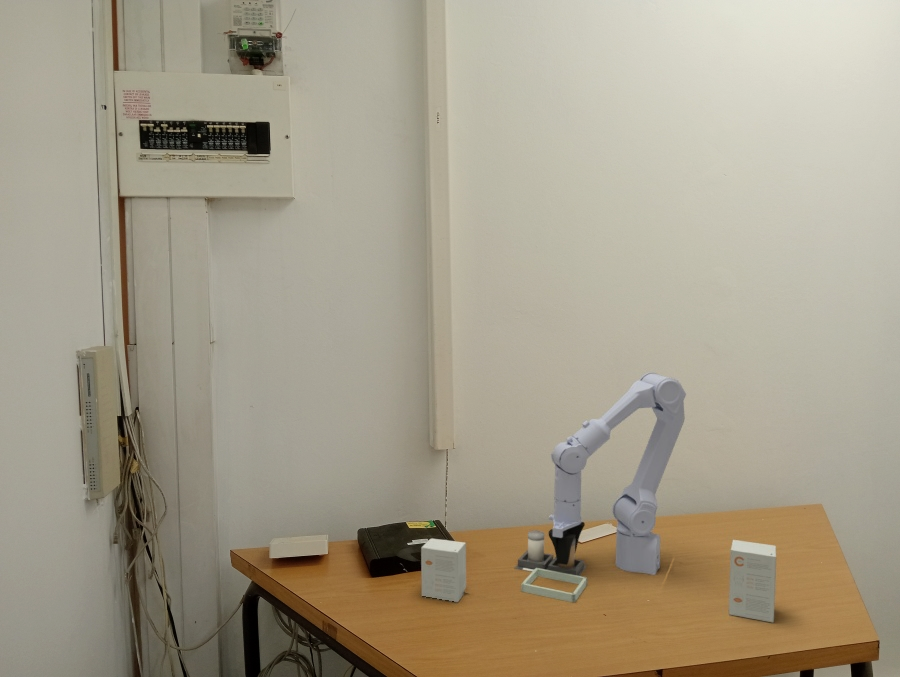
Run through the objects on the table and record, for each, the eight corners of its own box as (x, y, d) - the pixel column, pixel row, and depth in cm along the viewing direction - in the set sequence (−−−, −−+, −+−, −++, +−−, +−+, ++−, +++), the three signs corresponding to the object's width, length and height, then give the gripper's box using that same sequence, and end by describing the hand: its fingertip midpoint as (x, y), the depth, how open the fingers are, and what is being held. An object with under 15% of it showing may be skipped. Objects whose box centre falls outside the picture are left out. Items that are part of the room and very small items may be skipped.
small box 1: (466, 591, 146) (467, 542, 145) (458, 603, 140) (458, 552, 139) (430, 586, 148) (430, 537, 147) (420, 597, 143) (420, 546, 142)
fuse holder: (587, 569, 157) (587, 558, 157) (575, 585, 149) (576, 573, 149) (527, 558, 163) (527, 547, 163) (513, 572, 155) (513, 561, 155)
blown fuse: (576, 568, 155) (577, 537, 155) (571, 574, 152) (572, 542, 151) (560, 565, 157) (561, 534, 156) (555, 571, 154) (556, 539, 153)
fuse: (546, 562, 158) (546, 532, 158) (540, 568, 155) (541, 537, 154) (530, 559, 160) (531, 529, 159) (525, 565, 157) (525, 534, 156)
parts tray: (586, 589, 147) (587, 577, 147) (574, 607, 139) (574, 595, 139) (535, 578, 152) (535, 567, 152) (520, 595, 144) (521, 584, 143)
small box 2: (774, 609, 139) (777, 545, 137) (773, 623, 133) (777, 556, 132) (729, 601, 142) (732, 538, 141) (727, 615, 136) (730, 549, 135)
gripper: (559, 487, 161) (558, 544, 163) (539, 505, 148) (538, 567, 150) (590, 491, 158) (588, 550, 159) (571, 510, 145) (570, 573, 146)
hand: (566, 559), depth 154 cm, fingers open, 5 cm apart
